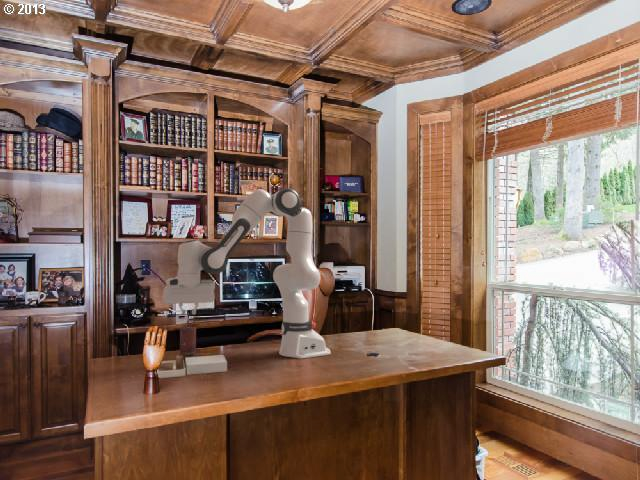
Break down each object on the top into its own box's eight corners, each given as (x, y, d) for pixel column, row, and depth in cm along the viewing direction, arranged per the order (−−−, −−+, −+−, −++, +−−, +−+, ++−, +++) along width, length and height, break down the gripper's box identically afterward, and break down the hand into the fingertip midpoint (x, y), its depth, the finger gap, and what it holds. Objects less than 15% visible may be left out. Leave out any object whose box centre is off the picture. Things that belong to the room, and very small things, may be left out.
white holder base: (223, 363, 176) (223, 354, 176) (226, 371, 166) (227, 361, 166) (185, 366, 172) (185, 357, 172) (186, 374, 161) (186, 365, 161)
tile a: (182, 355, 168) (175, 355, 167) (183, 357, 164) (176, 358, 163) (182, 368, 168) (175, 369, 167) (183, 371, 164) (176, 371, 163)
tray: (183, 365, 173) (183, 359, 173) (185, 376, 160) (185, 369, 160) (156, 367, 169) (156, 361, 169) (155, 378, 156) (155, 371, 156)
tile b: (158, 363, 165) (158, 370, 165) (158, 366, 161) (158, 373, 161) (172, 362, 167) (172, 369, 167) (173, 365, 163) (172, 372, 163)
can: (191, 363, 175) (192, 328, 176) (177, 362, 177) (177, 327, 177) (198, 359, 181) (199, 325, 181) (184, 358, 183) (185, 325, 183)
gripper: (214, 278, 186) (214, 311, 186) (162, 279, 179) (162, 314, 179) (216, 280, 180) (215, 314, 180) (162, 281, 173) (162, 316, 173)
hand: (188, 314), depth 179 cm, fingers open, 3 cm apart
